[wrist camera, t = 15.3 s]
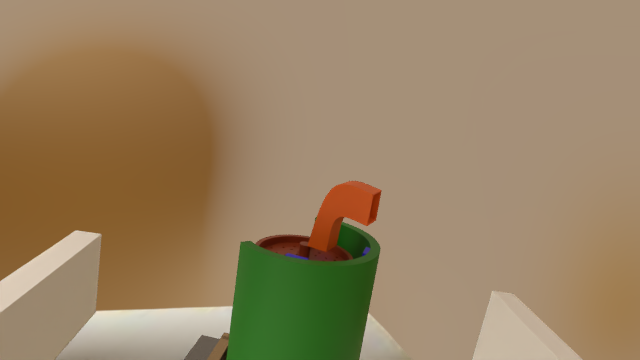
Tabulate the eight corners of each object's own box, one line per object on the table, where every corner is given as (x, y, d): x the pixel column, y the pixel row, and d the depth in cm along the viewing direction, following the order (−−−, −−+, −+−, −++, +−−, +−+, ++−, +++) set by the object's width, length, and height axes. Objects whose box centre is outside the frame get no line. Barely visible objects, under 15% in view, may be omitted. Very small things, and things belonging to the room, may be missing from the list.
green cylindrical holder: (257, 372, 37) (292, 155, 33) (353, 406, 35) (402, 179, 31) (195, 463, 28) (233, 172, 24) (323, 516, 25) (388, 208, 22)
